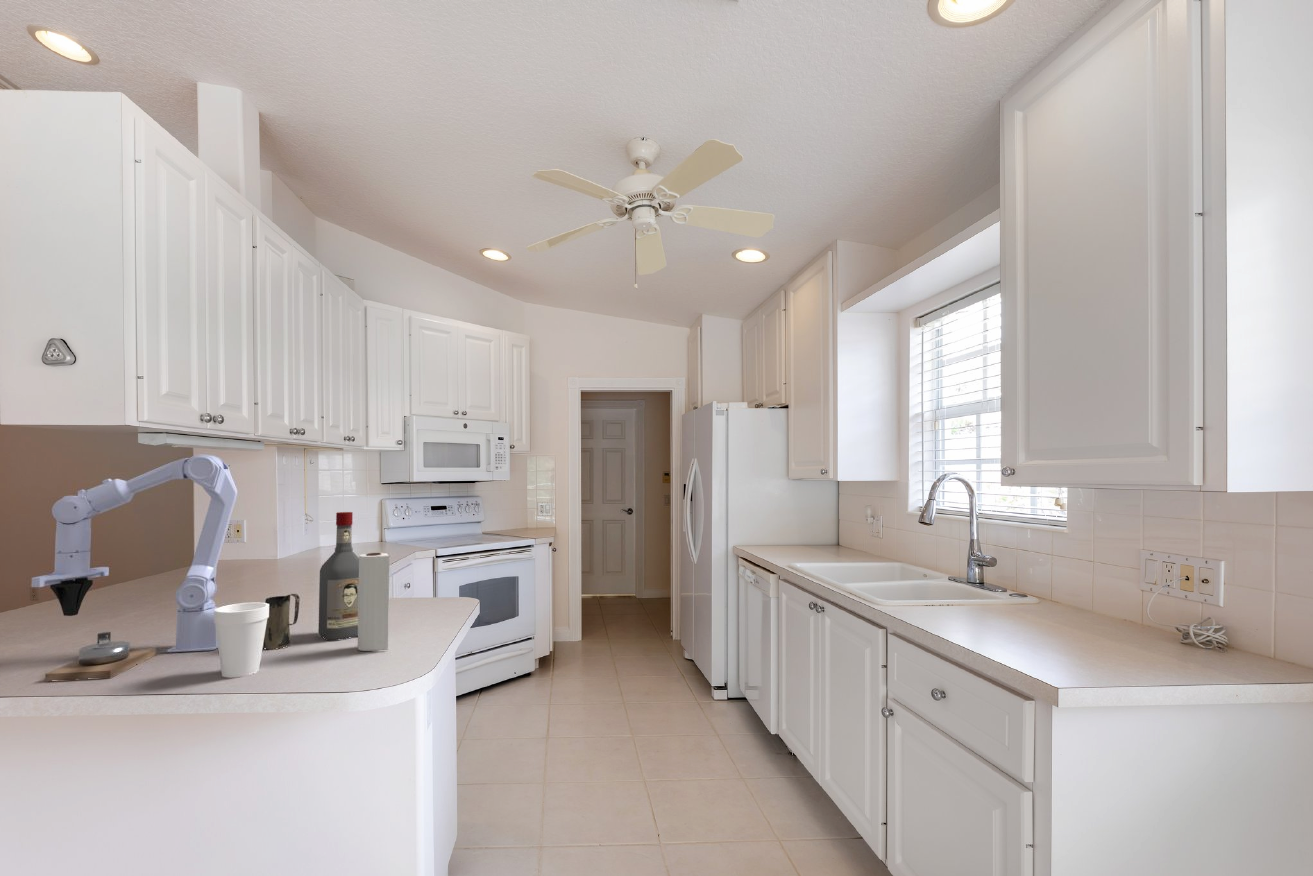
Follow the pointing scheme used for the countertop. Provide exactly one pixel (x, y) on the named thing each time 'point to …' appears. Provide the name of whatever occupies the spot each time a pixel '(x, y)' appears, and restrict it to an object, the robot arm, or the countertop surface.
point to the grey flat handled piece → (103, 650)
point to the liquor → (340, 586)
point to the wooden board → (100, 667)
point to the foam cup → (240, 637)
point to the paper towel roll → (373, 602)
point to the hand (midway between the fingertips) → (70, 615)
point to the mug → (279, 621)
